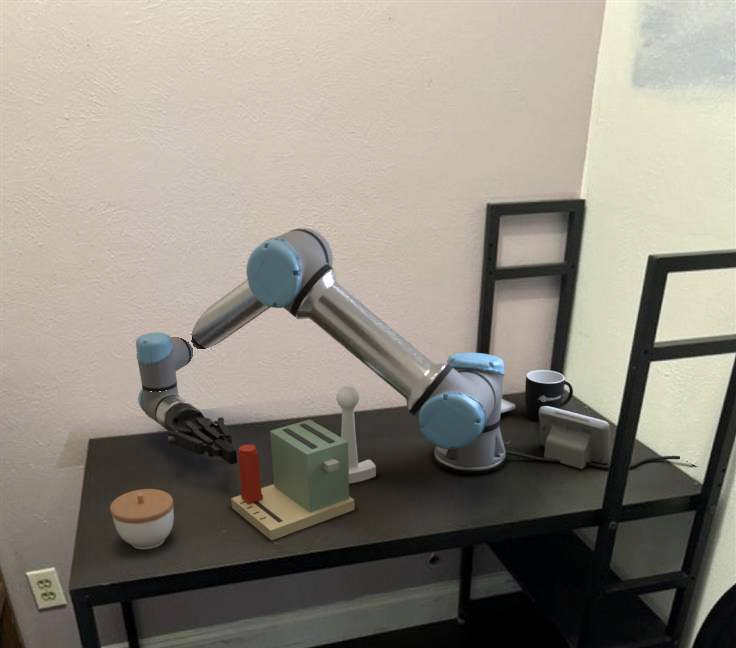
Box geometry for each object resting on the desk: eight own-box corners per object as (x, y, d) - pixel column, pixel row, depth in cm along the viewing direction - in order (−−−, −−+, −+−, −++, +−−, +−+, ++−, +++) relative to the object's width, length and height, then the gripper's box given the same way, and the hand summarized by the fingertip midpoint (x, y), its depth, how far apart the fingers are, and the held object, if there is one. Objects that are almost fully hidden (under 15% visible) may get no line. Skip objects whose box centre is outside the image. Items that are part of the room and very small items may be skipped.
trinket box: (114, 559, 135) (104, 512, 131) (120, 527, 145) (111, 483, 140) (177, 553, 137) (170, 506, 132) (179, 522, 146) (172, 478, 141)
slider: (241, 498, 149) (235, 447, 144) (255, 493, 151) (251, 442, 146) (248, 504, 147) (243, 452, 142) (263, 499, 149) (259, 448, 144)
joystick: (327, 487, 158) (323, 394, 148) (316, 471, 164) (311, 381, 154) (378, 478, 161) (378, 386, 151) (365, 463, 167) (364, 374, 157)
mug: (531, 425, 184) (535, 384, 179) (516, 411, 192) (520, 371, 186) (578, 420, 186) (583, 380, 181) (561, 406, 194) (566, 367, 189)
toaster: (231, 508, 151) (224, 440, 144) (312, 481, 160) (309, 416, 153) (273, 542, 140) (267, 471, 133) (357, 511, 149) (356, 443, 142)
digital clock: (613, 464, 166) (621, 418, 160) (587, 477, 161) (594, 429, 156) (553, 440, 177) (558, 396, 171) (527, 451, 172) (531, 406, 166)
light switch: (458, 412, 191) (459, 392, 189) (488, 403, 196) (489, 384, 194) (486, 425, 184) (487, 405, 182) (516, 415, 189) (518, 396, 187)
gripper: (210, 427, 172) (264, 465, 156) (154, 442, 165) (204, 484, 149) (206, 395, 168) (261, 431, 152) (149, 409, 162) (200, 448, 145)
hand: (233, 457), depth 150 cm, fingers closed
